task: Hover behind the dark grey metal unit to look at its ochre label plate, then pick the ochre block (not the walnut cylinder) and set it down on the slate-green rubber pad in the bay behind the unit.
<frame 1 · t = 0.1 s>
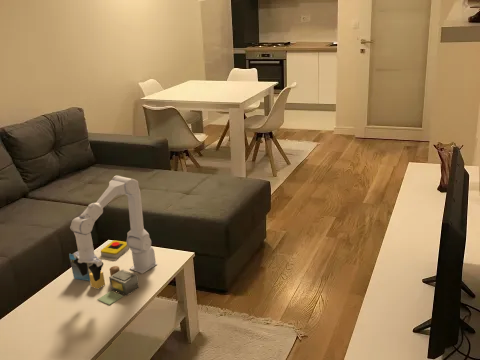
hand: (91, 277, 205), 10 cm above the table, fingers open, 7 cm apart
ochre block: (98, 285, 218), on the table
label tape box: (84, 278, 224), on the table
unit: (125, 288, 214), on the table
emergency button: (115, 253, 245), on the table
pad: (110, 298, 208), on the table
walnut cylinder: (116, 280, 220), on the table
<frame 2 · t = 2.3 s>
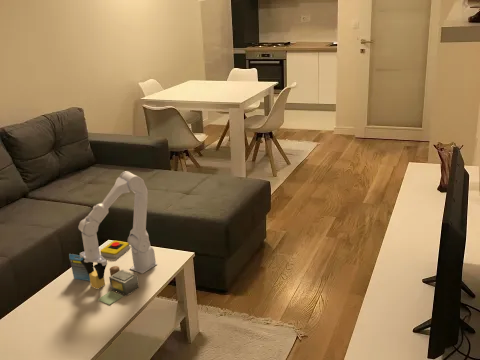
hand: (96, 276, 216), 5 cm above the table, fingers open, 6 cm apart
label tape box: (84, 278, 224), on the table, touching gripper
everything else where it was.
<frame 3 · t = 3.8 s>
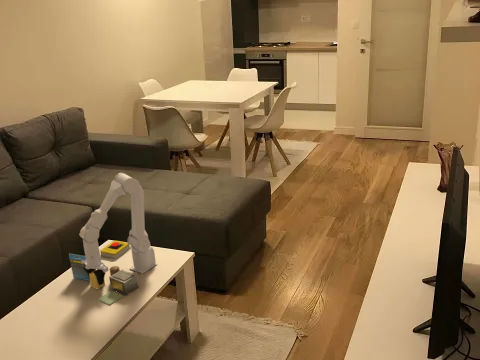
hand: (97, 282, 217), 1 cm above the table, fingers closed on ochre block, 4 cm apart
ochre block: (98, 285, 218), on the table, touching gripper
label tape box: (84, 278, 224), on the table
everything else where it was.
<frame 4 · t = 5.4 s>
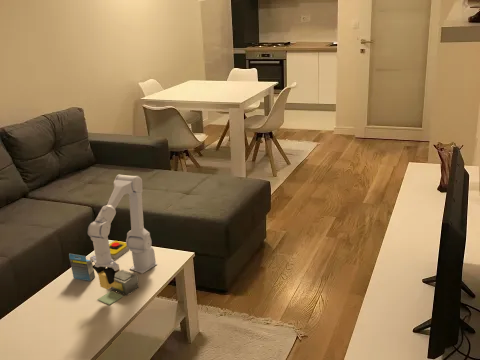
hand: (107, 281, 205), 8 cm above the table, fingers closed on ochre block, 4 cm apart
ochre block: (107, 285, 206), point 6 cm above the table, touching gripper
everything else where it was.
when the fingers open (3 cm above the table, at t = 7.0 s): ochre block stays where it is, resting on pad.
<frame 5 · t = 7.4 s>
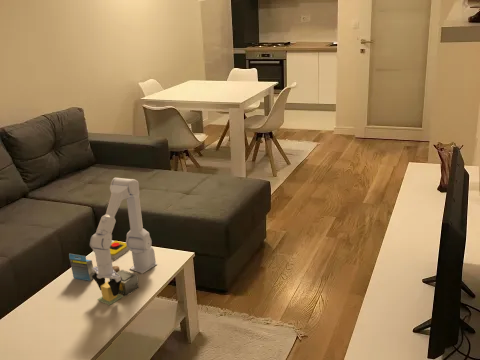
hand: (109, 292, 207), 3 cm above the table, fingers open, 7 cm apart
ochre block: (110, 297, 208), resting on pad
everything else where it was.
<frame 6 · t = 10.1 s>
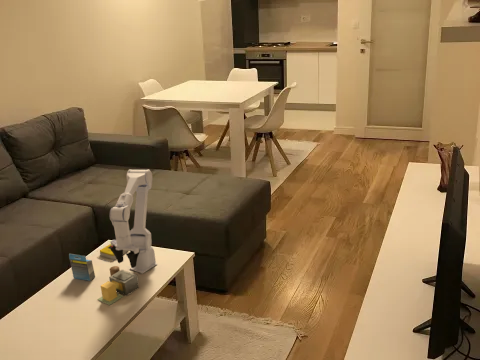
hand: (127, 264, 213), 10 cm above the table, fingers open, 7 cm apart
nothing on the table moved.
at the end: ochre block inside the target area on the pad (0.2 cm from its centre), point 0.4 cm above the pad's base; ochre block tilted 0°; the gripper is holding nothing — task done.
